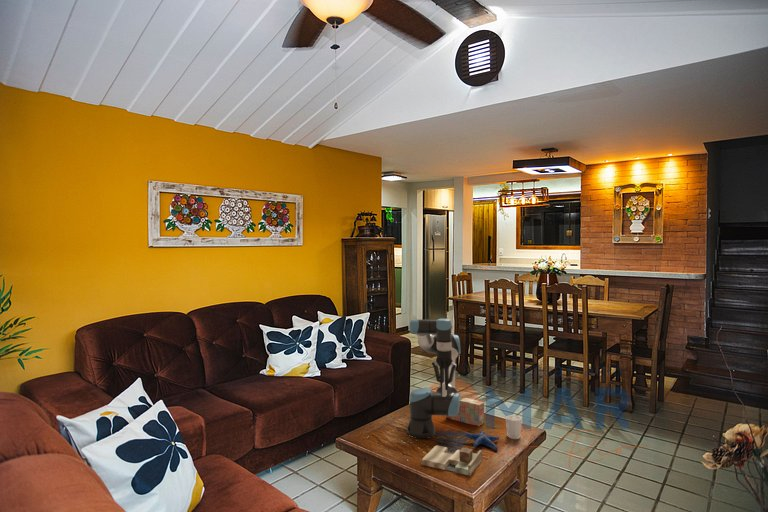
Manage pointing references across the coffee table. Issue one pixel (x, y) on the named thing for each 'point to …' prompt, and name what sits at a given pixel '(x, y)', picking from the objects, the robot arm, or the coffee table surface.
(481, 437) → the starfish
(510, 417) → the white cup
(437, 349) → the robot arm
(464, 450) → the walnut cube
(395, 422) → the coffee table surface
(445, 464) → the board
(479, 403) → the stack of blocks
